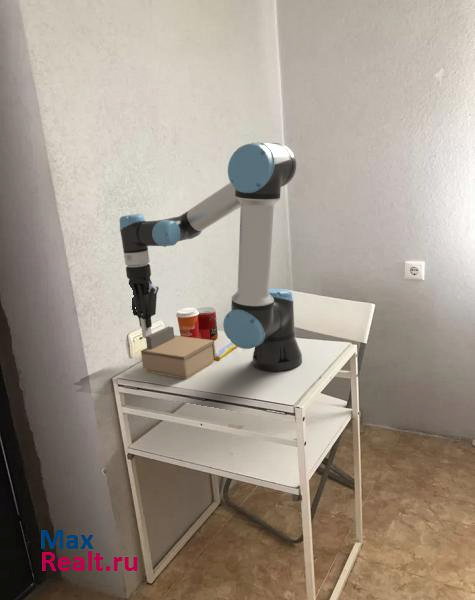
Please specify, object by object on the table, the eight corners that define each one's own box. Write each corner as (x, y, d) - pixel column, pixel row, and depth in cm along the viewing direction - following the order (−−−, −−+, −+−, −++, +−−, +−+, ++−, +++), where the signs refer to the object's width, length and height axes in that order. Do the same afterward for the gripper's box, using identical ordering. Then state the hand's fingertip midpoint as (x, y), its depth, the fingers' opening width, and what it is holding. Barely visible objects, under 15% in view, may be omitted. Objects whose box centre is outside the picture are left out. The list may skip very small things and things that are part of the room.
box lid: (215, 357, 163) (212, 328, 160) (185, 375, 150) (181, 344, 147) (175, 351, 171) (172, 324, 169) (143, 368, 158) (139, 339, 156)
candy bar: (219, 362, 163) (218, 357, 163) (208, 361, 165) (207, 355, 165) (243, 345, 178) (243, 340, 177) (232, 344, 180) (232, 339, 179)
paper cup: (176, 352, 174) (171, 313, 171) (186, 345, 181) (182, 307, 178) (196, 354, 171) (192, 314, 168) (206, 346, 178) (202, 307, 175)
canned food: (215, 342, 182) (212, 312, 179) (193, 342, 183) (190, 313, 181) (220, 335, 189) (217, 306, 186) (199, 335, 191) (196, 307, 188)
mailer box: (214, 362, 162) (212, 344, 161) (187, 379, 151) (185, 359, 149) (174, 356, 171) (172, 339, 169) (146, 371, 159) (143, 353, 158)
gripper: (113, 266, 160) (124, 338, 166) (145, 267, 153) (155, 342, 159) (130, 262, 166) (140, 331, 172) (161, 263, 159) (170, 335, 165)
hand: (147, 336), depth 165 cm, fingers closed
